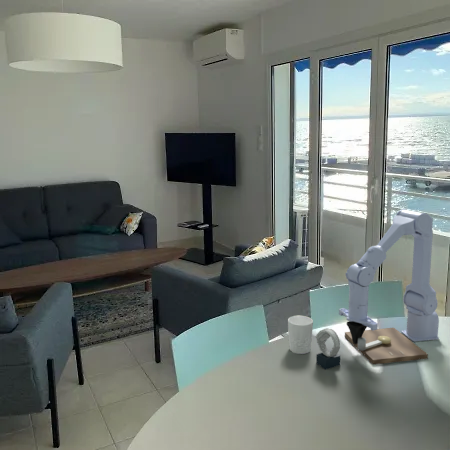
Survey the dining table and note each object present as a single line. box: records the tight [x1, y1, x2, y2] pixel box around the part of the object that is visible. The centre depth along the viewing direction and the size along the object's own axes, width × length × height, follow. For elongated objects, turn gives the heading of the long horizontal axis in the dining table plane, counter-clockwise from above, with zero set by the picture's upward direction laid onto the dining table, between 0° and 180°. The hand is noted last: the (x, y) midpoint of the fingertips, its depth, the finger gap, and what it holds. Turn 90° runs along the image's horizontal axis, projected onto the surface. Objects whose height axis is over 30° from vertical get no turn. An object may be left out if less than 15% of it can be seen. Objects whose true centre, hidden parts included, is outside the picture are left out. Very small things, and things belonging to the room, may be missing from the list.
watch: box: [315, 328, 341, 370], centre depth 141 cm, size 6×8×11 cm
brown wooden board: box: [344, 327, 429, 365], centre depth 152 cm, size 18×20×2 cm
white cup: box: [287, 315, 314, 355], centre depth 151 cm, size 8×8×10 cm
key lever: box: [357, 336, 391, 351], centre depth 149 cm, size 13×4×3 cm, turn 119°
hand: (356, 343), depth 149 cm, fingers closed
